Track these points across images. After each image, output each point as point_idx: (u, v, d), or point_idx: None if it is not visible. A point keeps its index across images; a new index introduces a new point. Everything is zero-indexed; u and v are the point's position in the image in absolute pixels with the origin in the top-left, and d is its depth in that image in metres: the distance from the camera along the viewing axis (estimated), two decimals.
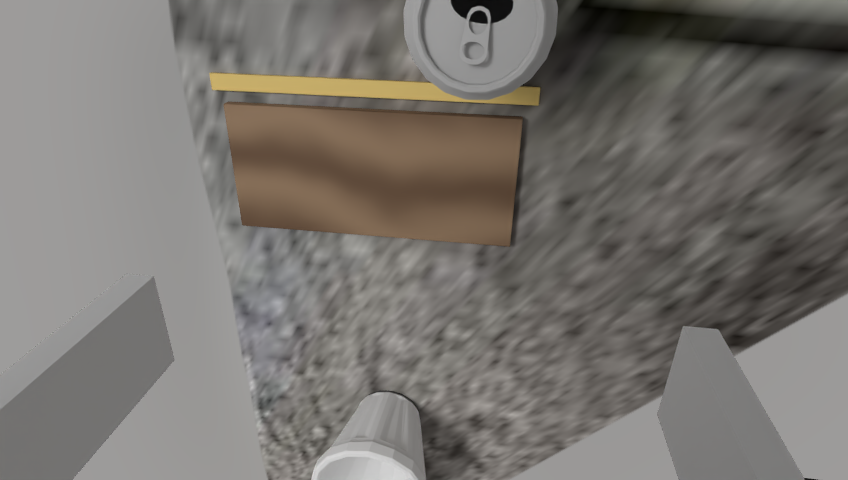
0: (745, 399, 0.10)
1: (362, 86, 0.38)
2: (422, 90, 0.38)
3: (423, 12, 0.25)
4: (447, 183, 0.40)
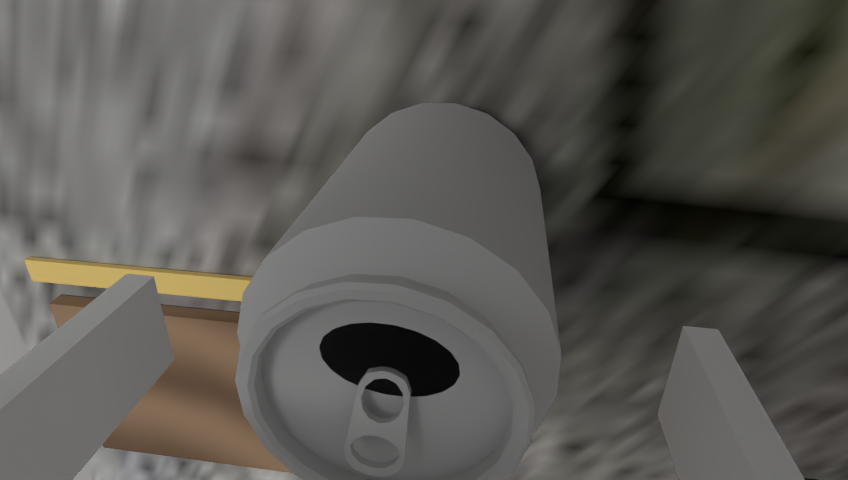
0: (745, 399, 0.10)
1: None
2: None
3: (265, 367, 0.11)
4: None
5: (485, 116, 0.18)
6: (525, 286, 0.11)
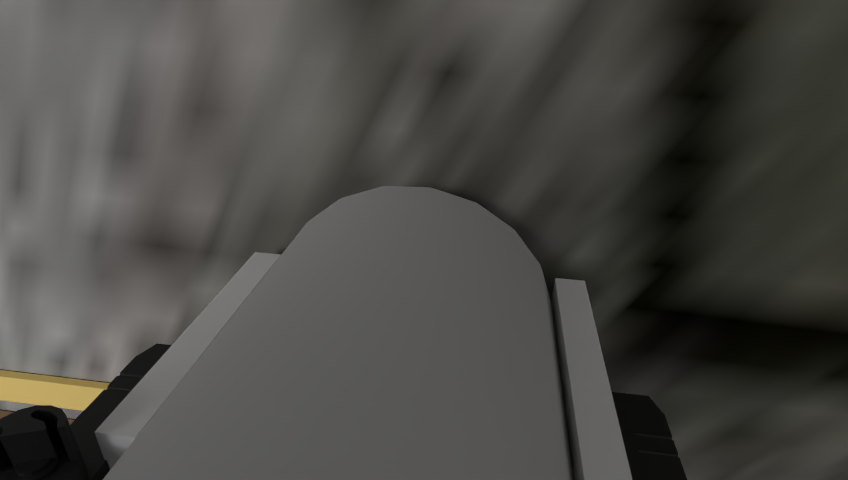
0: (585, 332, 0.12)
1: None
2: None
3: None
4: None
5: (473, 209, 0.13)
6: None
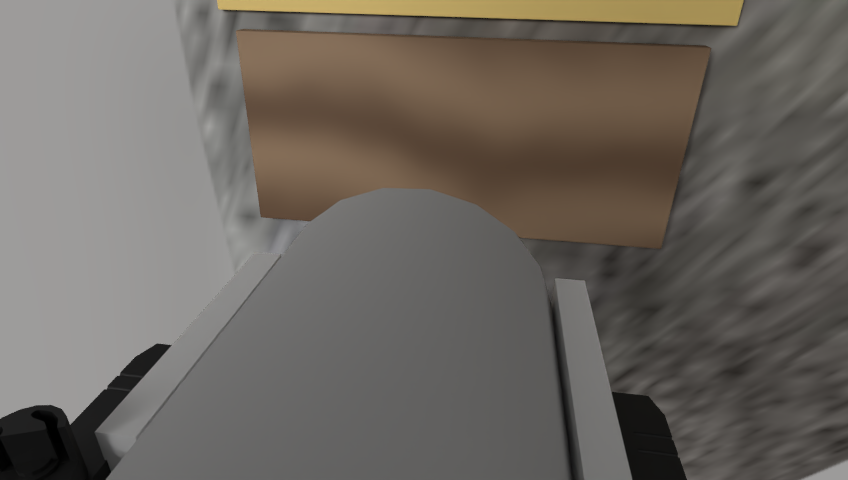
0: (585, 332, 0.12)
1: None
2: (549, 3, 0.24)
3: None
4: (575, 152, 0.26)
5: (473, 211, 0.13)
6: None
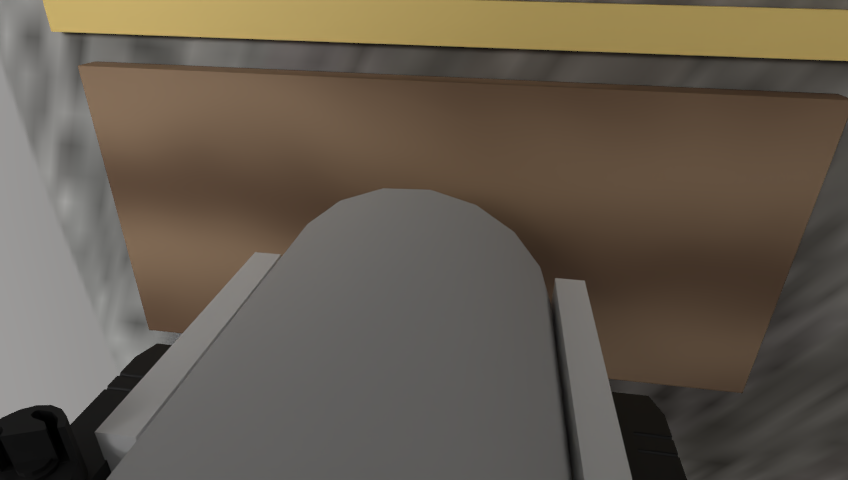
0: (585, 332, 0.12)
1: (419, 16, 0.15)
2: (578, 25, 0.14)
3: None
4: (616, 256, 0.17)
5: (472, 211, 0.13)
6: None
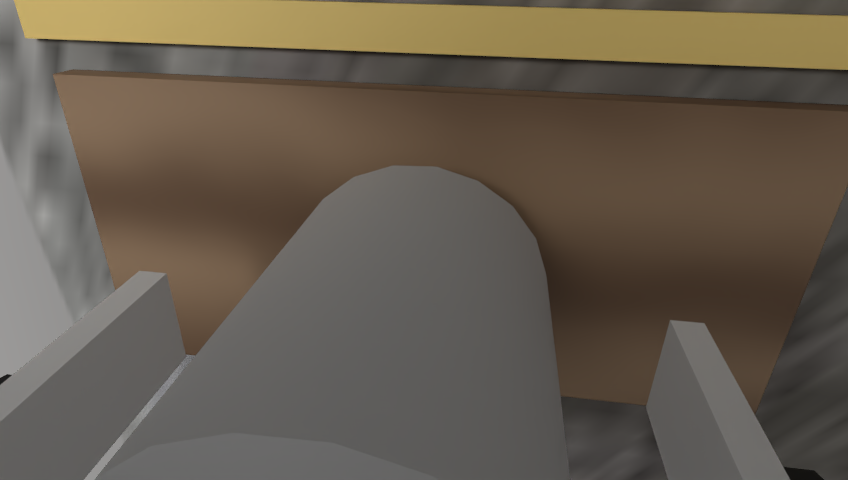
0: (728, 391, 0.10)
1: (413, 23, 0.14)
2: (582, 32, 0.14)
3: None
4: (621, 275, 0.16)
5: (475, 186, 0.14)
6: None
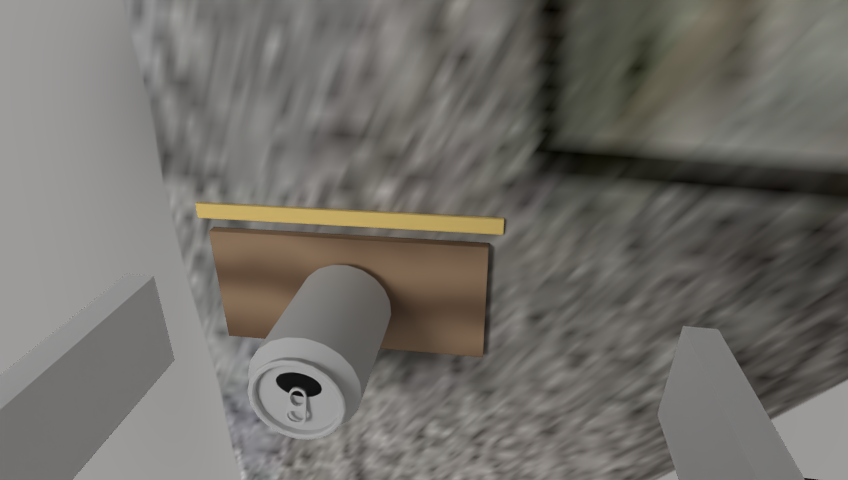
0: (745, 399, 0.10)
1: (338, 216, 0.41)
2: (394, 220, 0.40)
3: (258, 387, 0.33)
4: (421, 301, 0.42)
5: (359, 272, 0.40)
6: (343, 359, 0.33)
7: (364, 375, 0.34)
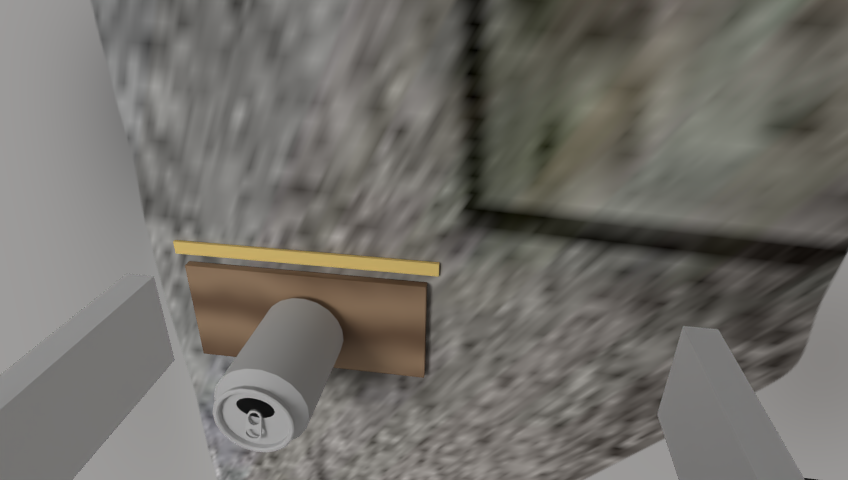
0: (745, 399, 0.10)
1: (297, 256, 0.47)
2: (345, 261, 0.46)
3: (221, 409, 0.40)
4: (369, 330, 0.49)
5: (315, 305, 0.47)
6: (293, 387, 0.39)
7: (312, 399, 0.41)
